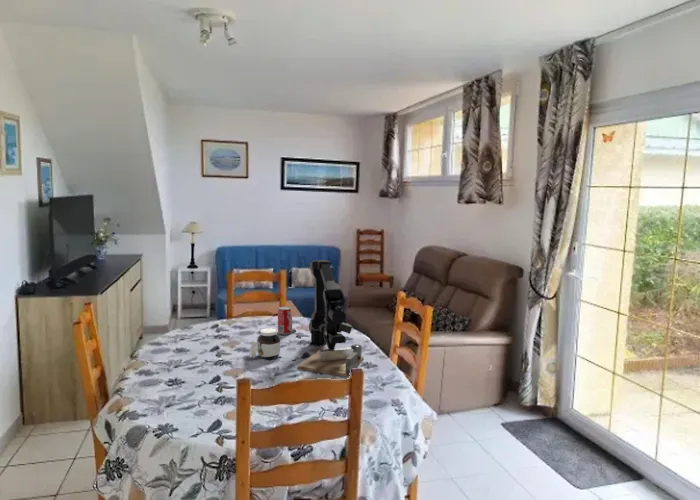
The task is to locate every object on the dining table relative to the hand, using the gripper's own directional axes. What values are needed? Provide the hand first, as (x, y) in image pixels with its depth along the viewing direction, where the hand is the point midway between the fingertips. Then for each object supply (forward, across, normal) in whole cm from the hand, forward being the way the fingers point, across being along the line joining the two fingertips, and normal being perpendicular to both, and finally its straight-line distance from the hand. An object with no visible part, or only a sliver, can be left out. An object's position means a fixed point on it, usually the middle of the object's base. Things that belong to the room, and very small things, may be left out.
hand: (331, 352), depth 210 cm
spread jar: (+4, +13, +26) cm, 30 cm away
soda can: (+5, +44, +10) cm, 45 cm away
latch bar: (+2, -3, -3) cm, 5 cm away
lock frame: (+4, -4, +1) cm, 5 cm away
